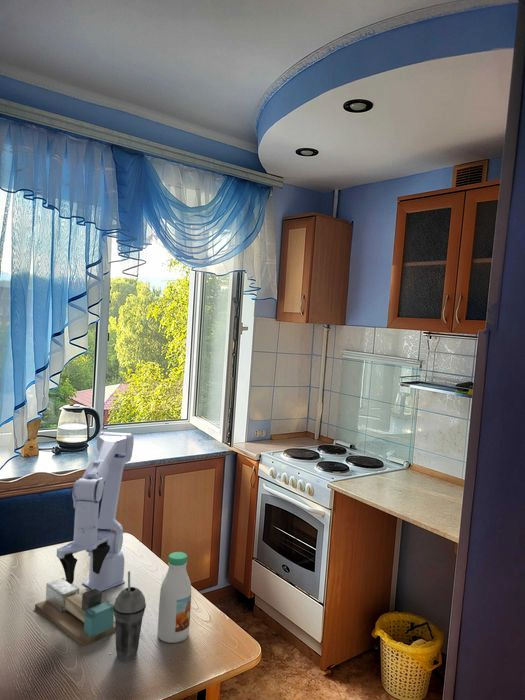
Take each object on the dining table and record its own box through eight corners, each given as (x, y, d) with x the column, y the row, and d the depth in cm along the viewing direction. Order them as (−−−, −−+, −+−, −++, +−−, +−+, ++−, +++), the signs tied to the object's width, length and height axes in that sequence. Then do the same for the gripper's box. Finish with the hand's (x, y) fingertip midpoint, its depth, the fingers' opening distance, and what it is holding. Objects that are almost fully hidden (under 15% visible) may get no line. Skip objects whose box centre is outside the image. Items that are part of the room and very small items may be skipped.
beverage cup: (149, 651, 121) (154, 566, 121) (131, 669, 114) (137, 579, 114) (122, 643, 124) (127, 560, 123) (103, 660, 117) (108, 572, 116)
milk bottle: (162, 647, 123) (167, 563, 123) (153, 629, 130) (158, 551, 130) (193, 640, 127) (198, 559, 126) (182, 623, 134) (187, 547, 133)
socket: (106, 622, 130) (107, 601, 130) (113, 627, 128) (114, 605, 128) (83, 632, 125) (85, 610, 125) (90, 637, 123) (92, 614, 123)
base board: (70, 595, 144) (70, 591, 144) (119, 629, 129) (119, 624, 129) (34, 608, 136) (35, 604, 136) (83, 646, 122) (83, 641, 122)
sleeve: (62, 595, 142) (63, 577, 141) (78, 606, 136) (79, 588, 136) (45, 601, 138) (46, 583, 138) (61, 613, 133) (62, 594, 133)
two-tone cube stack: (75, 603, 136) (76, 576, 136) (106, 624, 127) (107, 596, 127) (62, 607, 134) (64, 581, 133) (93, 630, 125) (94, 601, 124)
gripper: (68, 537, 125) (65, 592, 126) (119, 522, 136) (116, 573, 137) (53, 528, 130) (50, 582, 130) (103, 515, 141) (100, 564, 141)
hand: (83, 577), depth 134 cm, fingers open, 7 cm apart
